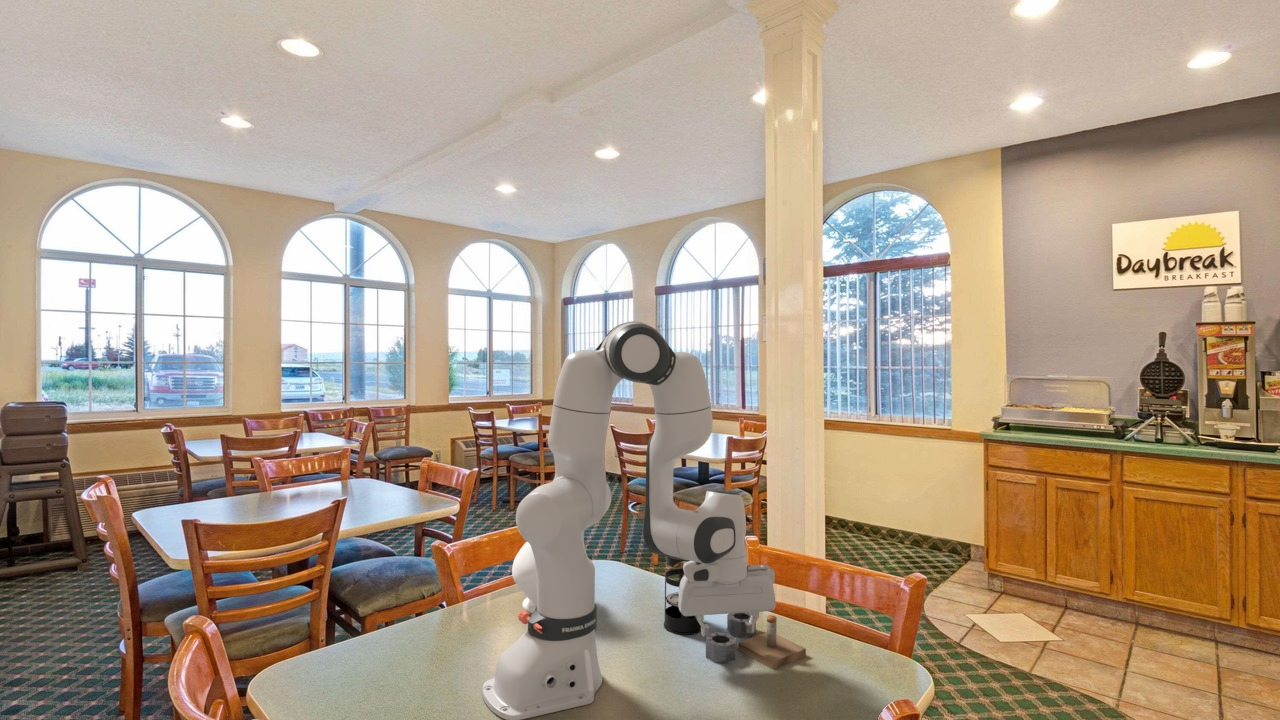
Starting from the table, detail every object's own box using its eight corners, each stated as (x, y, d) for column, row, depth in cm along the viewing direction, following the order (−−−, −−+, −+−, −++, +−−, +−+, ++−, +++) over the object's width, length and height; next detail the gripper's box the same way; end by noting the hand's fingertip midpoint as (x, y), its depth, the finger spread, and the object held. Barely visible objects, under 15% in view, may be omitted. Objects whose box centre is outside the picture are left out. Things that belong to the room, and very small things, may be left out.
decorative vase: (577, 619, 143) (578, 514, 144) (503, 617, 144) (505, 513, 144) (586, 591, 161) (587, 498, 161) (520, 590, 162) (521, 497, 162)
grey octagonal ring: (747, 639, 134) (748, 623, 134) (723, 632, 137) (723, 617, 137) (759, 630, 138) (759, 615, 139) (735, 623, 142) (735, 608, 142)
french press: (705, 636, 135) (706, 534, 135) (663, 636, 135) (664, 533, 135) (701, 615, 147) (702, 521, 147) (663, 614, 147) (664, 520, 147)
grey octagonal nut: (719, 665, 122) (719, 648, 122) (700, 654, 127) (700, 637, 127) (741, 657, 125) (741, 640, 125) (721, 646, 130) (721, 630, 130)
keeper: (772, 669, 121) (773, 631, 121) (737, 649, 129) (738, 614, 129) (805, 655, 126) (805, 620, 126) (770, 637, 135) (770, 604, 135)
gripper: (769, 559, 129) (771, 624, 129) (676, 564, 128) (677, 629, 127) (779, 569, 123) (781, 636, 123) (680, 574, 121) (682, 643, 121)
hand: (727, 633), depth 125 cm, fingers open, 8 cm apart
